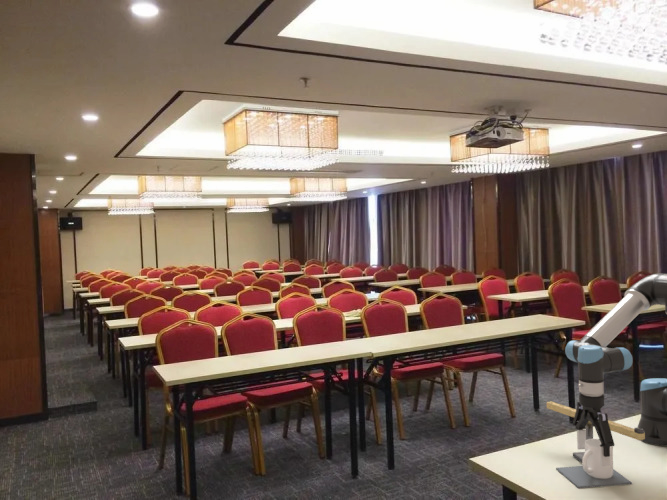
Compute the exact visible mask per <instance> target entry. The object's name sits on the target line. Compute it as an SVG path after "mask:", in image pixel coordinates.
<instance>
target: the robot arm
mask: <svg viewBox="0 0 667 500" xmlns="http://www.w3.org/2000/svg"><path fill="white" fill-rule="evenodd" d="M657 305H659V306H660V305H661V306H664V312H665V314H666V315H667V273H663V272H659V273H652V274H650V275H647V276H645V277H642V279H639V280H638V281H637V282H635V283H634V284H632V285H631V286H630V287H629V288H627V290H626V291H625V292H624V297H623V298H622V299H620V300H619V302H617V304H616V305H614V306H613V307H612V308H611V309H610V310H609V312H607V313H606V314H605V315H604V316H603V317H602V318H601V319H600V320H599V321H598V322H597V323H596V324H595V325H594V326H593V327H592V328H591V329H590V330H588V332H587V333H586V334H584V336H583V337H582V338H580V340H569V341H568V342H567V344H566V346H565V349H564V350H565V355H566V357H567V359H569V360H570V361H572V362H575V363H577V367H578V370H577V371H578V385H577V386H578V391H579V393H578V402H577V403H576V413H575V417H573V420H572V425H573V426H575V429H576V439H577V440H576V441H577V444H576V446H577V450H585V441H586V427H585V426H586V424H587V423H588V421H590V422H591V423H592V425H593V428H594V429H595V431H596V434H597V436H598V437H597V438H598V439H600V442H601V445H600V465H601V466H610V446H613V447H615V441H614V438H613V434H612V431H611V430H610V426H609V423H608V420H609V418H608V417H609V415H608V414H607V413H602V408H603V407H604V406H605V395H604V394H605V381H604V379H605V378H604V377H605V376H604V375H605V374H609V373H615V372H616V373H617V372H622V371H626V370H628V369H630V368H631V367H632V366H633V355H632V354H631V352H630V350H629V349H627V348H625V347H617V346H616V347H614V348H613V347H612V348H611V347H607V346H608V345H610V344H611V342H612V341H613V340H614V339H615V338H617V336H618V335H620V334H621V332H623V331H624V330H625V329H626V327H628V326H629V324H631V322H632V321H634V319H635V318H636V317H637V316H639V314H640V313H642V312H643V311H648V310H649V309H650V308H651V307H652V306H657ZM639 391H640V396H639V397H640V418H639V421H638V424H637V427H636V428H643V429H644V432H645V439H643V440H640V441H641V442H644V443H646V444H649V445H655V446H660V447H667V378H661V377H660V378H659V377H658V378H656V377H655V378H647V379H643V380H641V382H640V389H639ZM598 421H599V422H598Z"/></svg>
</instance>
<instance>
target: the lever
mask: <svg viewBox="0 0 667 500" xmlns="http://www.w3.org/2000/svg"><path fill="white" fill-rule="evenodd" d="M546 409H547V410H551V411H554V412H557V413H559V414H562V415H565V416H568V417H571V418H574V417H575V413H576V410H577V408H572V407H570V406H567V405H564V404H561V403H557V402H555V401H547V402H546ZM598 422H599V421H598ZM608 423H609V426H610V430H611V432H614V433H616V434H620V435H623V436H625V437H629V438H632V439H634V440H637V441H641V440H643V439H645V432H644V429H643V428H637V427H634V428H633V427H629V426H627V425H624V424H621V423H618V422H615V421H613V420H609V419H608ZM587 424H592V423H591V422H590V421H588V423H587Z"/></svg>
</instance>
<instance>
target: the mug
mask: <svg viewBox="0 0 667 500" xmlns="http://www.w3.org/2000/svg"><path fill="white" fill-rule="evenodd" d="M600 445H601V442H600V439H599V438H593V439H588V440H586V441H585V449H584V452H585V454H584V456H583V460H582V463H581V464H582V465H581V466H583V469H584V471H585V472H586V473H587V474H588V475H590V476H591V477H594V478H598V479H608V478H611V477H612V476H613V469H614V446H610V466H601V465H600Z"/></svg>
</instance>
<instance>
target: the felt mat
mask: <svg viewBox="0 0 667 500" xmlns="http://www.w3.org/2000/svg"><path fill="white" fill-rule="evenodd" d="M555 470H556V471H557V472H559V473H560V474H561V475H562V476H564V477H563V478H565V479H567V480H568V481H569V482H570V483H571V484H572V485H573V486H575V487H576V488H577V489H586V488H587V489H588V488H599V487H611V486H613V487H614V486H625V485H632V484H633V482H632V481H631V480H630V479H628V478H626V477H625V476H624V475H623V474H621V473H620V472H618V471H617V470H615V469H614V468H613V476H612V477H611V478H608V479H598V478H594V477H591V476H590V475H588V474H587V473H586V472H585V471H584V469H583V465H576V466H575V465H574V466H562V467H561V466H560V467H556V469H555Z"/></svg>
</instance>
